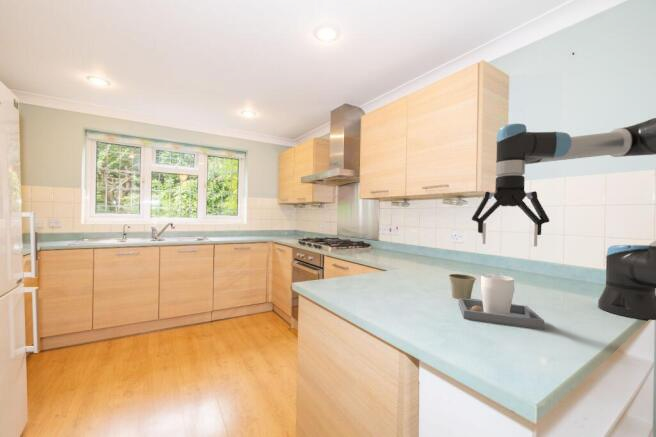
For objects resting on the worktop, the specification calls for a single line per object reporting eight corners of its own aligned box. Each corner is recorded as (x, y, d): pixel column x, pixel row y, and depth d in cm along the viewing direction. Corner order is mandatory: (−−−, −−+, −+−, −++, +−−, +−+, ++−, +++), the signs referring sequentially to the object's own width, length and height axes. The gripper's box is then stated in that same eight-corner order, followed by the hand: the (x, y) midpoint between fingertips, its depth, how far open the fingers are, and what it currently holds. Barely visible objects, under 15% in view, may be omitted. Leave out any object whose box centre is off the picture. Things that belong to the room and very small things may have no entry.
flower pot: (480, 303, 102) (481, 279, 101) (454, 302, 102) (454, 278, 102) (467, 296, 111) (468, 274, 111) (443, 295, 111) (444, 273, 111)
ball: (482, 316, 86) (482, 304, 86) (484, 320, 83) (484, 308, 83) (469, 314, 88) (470, 303, 88) (471, 318, 84) (471, 306, 84)
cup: (503, 311, 92) (505, 274, 92) (519, 321, 83) (521, 281, 83) (474, 309, 93) (476, 273, 92) (487, 319, 84) (488, 279, 83)
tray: (526, 315, 90) (526, 305, 90) (543, 331, 77) (544, 320, 77) (458, 306, 97) (458, 297, 97) (463, 320, 84) (463, 310, 84)
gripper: (553, 176, 86) (551, 245, 86) (463, 178, 94) (462, 241, 95) (564, 173, 79) (562, 248, 79) (467, 175, 87) (465, 243, 88)
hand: (507, 244), depth 87 cm, fingers open, 13 cm apart
